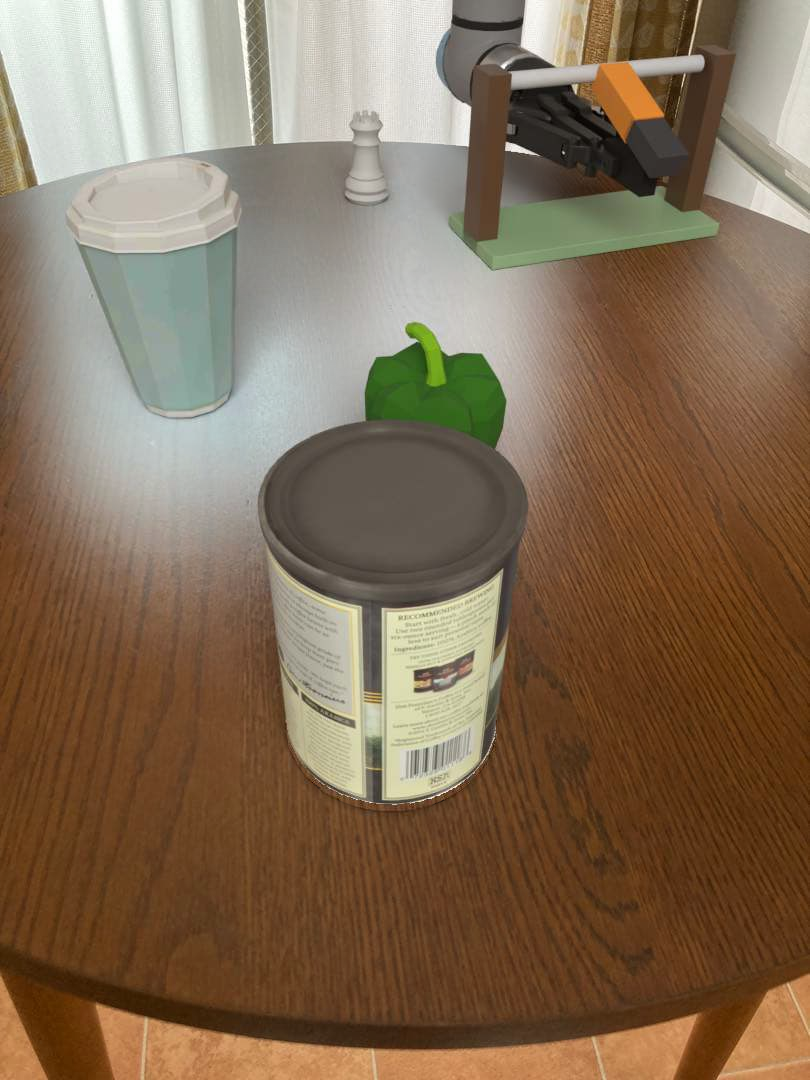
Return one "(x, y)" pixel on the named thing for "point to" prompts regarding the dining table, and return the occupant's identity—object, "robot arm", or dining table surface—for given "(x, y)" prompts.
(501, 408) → the bell pepper
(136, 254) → the disposable coffee cup
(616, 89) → the foosball rod
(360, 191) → the rook chess piece
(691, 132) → the foosball stand
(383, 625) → the coffee can
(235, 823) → the dining table surface
